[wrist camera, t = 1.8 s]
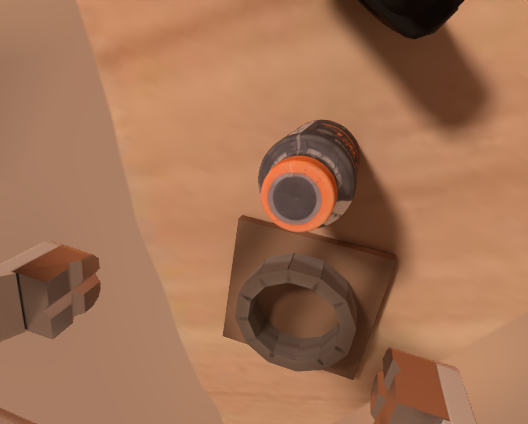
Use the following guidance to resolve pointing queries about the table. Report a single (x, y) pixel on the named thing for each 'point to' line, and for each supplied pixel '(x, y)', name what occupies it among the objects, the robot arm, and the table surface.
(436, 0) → the controller
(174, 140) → the table surface
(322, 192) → the pill bottle
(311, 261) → the holder
